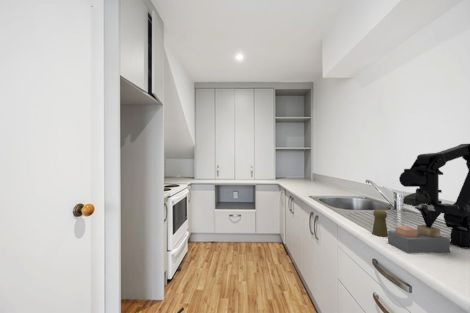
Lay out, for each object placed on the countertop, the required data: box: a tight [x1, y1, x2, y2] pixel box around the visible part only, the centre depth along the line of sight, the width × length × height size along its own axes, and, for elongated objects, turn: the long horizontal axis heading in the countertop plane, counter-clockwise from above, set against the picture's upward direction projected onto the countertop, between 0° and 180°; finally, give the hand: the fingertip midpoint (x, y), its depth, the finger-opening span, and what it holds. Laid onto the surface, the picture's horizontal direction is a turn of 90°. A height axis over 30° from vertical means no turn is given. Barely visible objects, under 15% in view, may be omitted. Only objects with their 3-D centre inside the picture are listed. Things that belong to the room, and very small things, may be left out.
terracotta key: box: [395, 225, 418, 237], centre depth 89 cm, size 5×5×6 cm
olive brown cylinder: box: [371, 209, 388, 238], centre depth 105 cm, size 6×6×11 cm
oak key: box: [417, 224, 441, 237], centre depth 90 cm, size 5×5×6 cm
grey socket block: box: [387, 230, 451, 254], centre depth 89 cm, size 16×10×5 cm, turn 93°
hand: (428, 227), depth 90 cm, fingers closed, pressing on oak key
